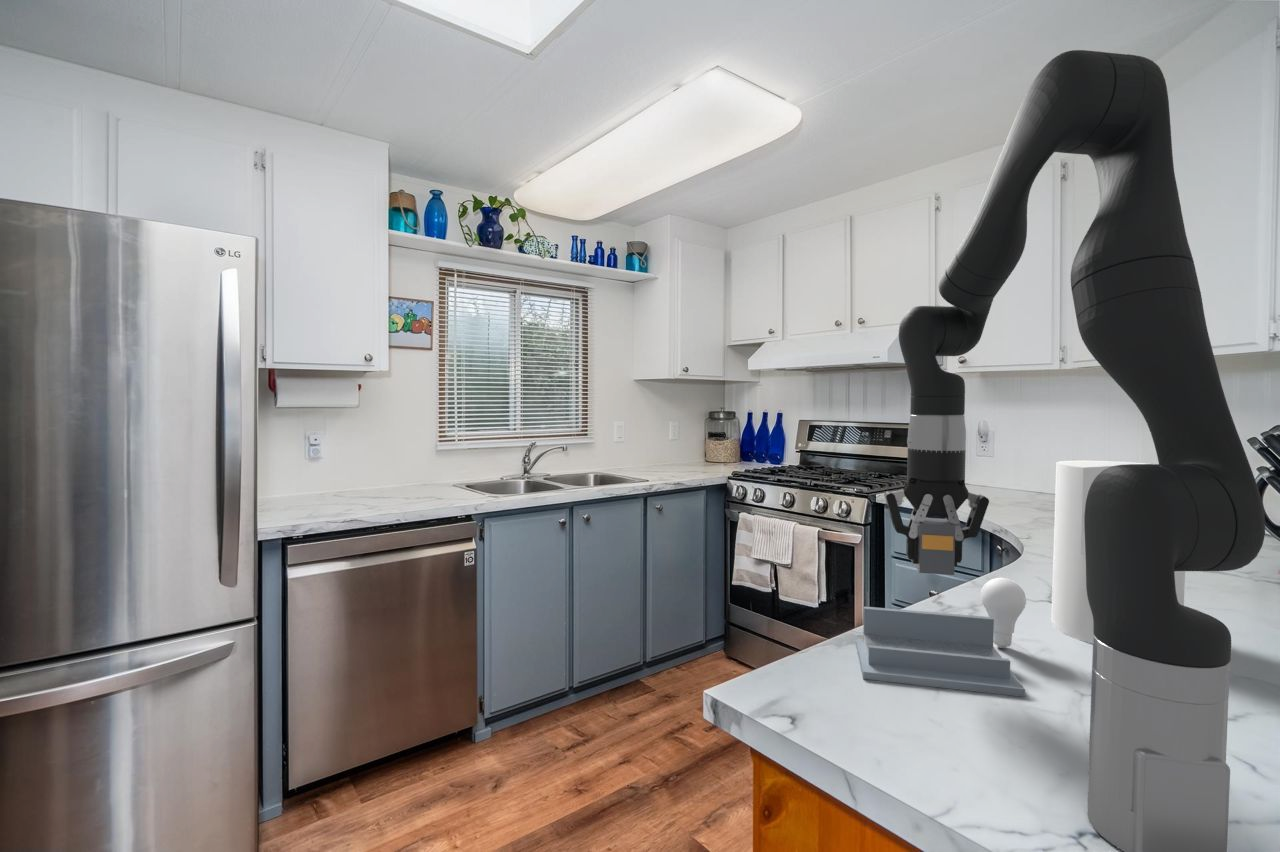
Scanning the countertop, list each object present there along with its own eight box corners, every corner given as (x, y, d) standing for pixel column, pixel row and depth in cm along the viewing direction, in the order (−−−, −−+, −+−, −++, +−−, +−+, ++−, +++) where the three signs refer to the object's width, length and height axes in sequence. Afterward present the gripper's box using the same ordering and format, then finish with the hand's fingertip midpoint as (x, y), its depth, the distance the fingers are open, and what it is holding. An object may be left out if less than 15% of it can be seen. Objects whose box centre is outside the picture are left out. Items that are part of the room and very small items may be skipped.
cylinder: (1027, 621, 108) (1032, 462, 106) (1094, 609, 114) (1099, 458, 113) (1136, 660, 92) (1143, 473, 90) (1207, 644, 98) (1215, 469, 96)
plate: (1008, 676, 84) (1008, 665, 84) (868, 662, 89) (868, 651, 89) (992, 656, 91) (993, 646, 91) (863, 643, 95) (863, 634, 95)
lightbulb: (1031, 657, 93) (1033, 585, 92) (987, 654, 94) (989, 583, 93) (1015, 641, 99) (1017, 574, 98) (974, 638, 100) (975, 571, 99)
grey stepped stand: (1024, 696, 80) (1026, 648, 80) (863, 678, 86) (863, 632, 85) (997, 659, 92) (998, 616, 92) (856, 645, 97) (856, 604, 97)
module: (954, 575, 86) (955, 525, 86) (919, 573, 87) (920, 524, 87) (946, 565, 91) (947, 518, 91) (913, 563, 92) (914, 517, 92)
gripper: (886, 447, 86) (884, 567, 87) (999, 449, 83) (996, 574, 84) (880, 443, 94) (878, 554, 95) (984, 445, 90) (981, 560, 91)
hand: (933, 563), depth 89 cm, fingers closed on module, 4 cm apart
